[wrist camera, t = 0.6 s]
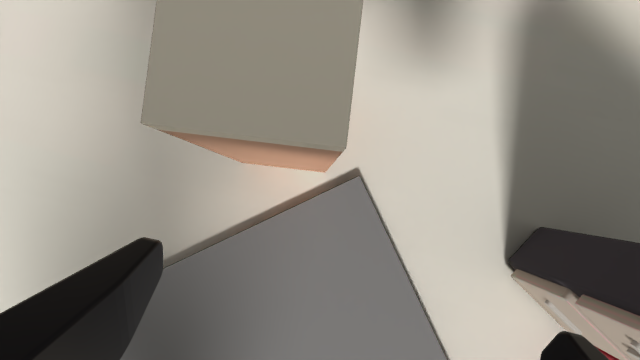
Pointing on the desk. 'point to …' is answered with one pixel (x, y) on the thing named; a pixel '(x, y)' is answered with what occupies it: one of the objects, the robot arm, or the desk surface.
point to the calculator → (585, 286)
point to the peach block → (255, 78)
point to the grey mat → (291, 292)
